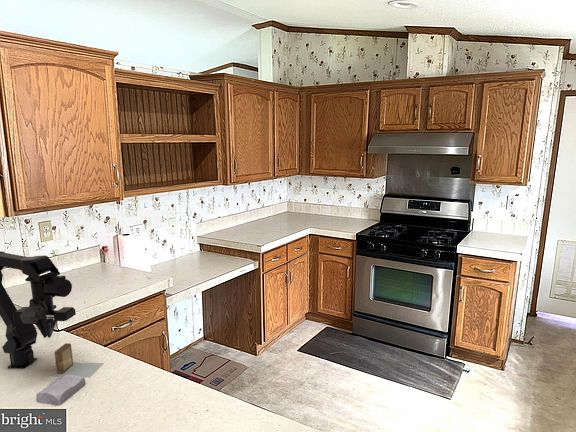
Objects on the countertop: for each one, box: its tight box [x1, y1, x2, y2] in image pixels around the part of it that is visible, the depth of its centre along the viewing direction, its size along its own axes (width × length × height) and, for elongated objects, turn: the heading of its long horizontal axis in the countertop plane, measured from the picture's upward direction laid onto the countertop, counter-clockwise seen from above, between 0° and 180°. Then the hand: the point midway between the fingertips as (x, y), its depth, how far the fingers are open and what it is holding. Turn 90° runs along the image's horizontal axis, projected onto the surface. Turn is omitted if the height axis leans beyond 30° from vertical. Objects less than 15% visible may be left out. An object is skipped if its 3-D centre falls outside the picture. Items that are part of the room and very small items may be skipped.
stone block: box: [35, 375, 86, 406], centre depth 126 cm, size 12×5×10 cm
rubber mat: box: [47, 361, 105, 378], centre depth 139 cm, size 15×9×1 cm, turn 86°
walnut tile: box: [53, 343, 74, 374], centre depth 139 cm, size 2×6×8 cm, turn 176°
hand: (47, 337), depth 138 cm, fingers closed
